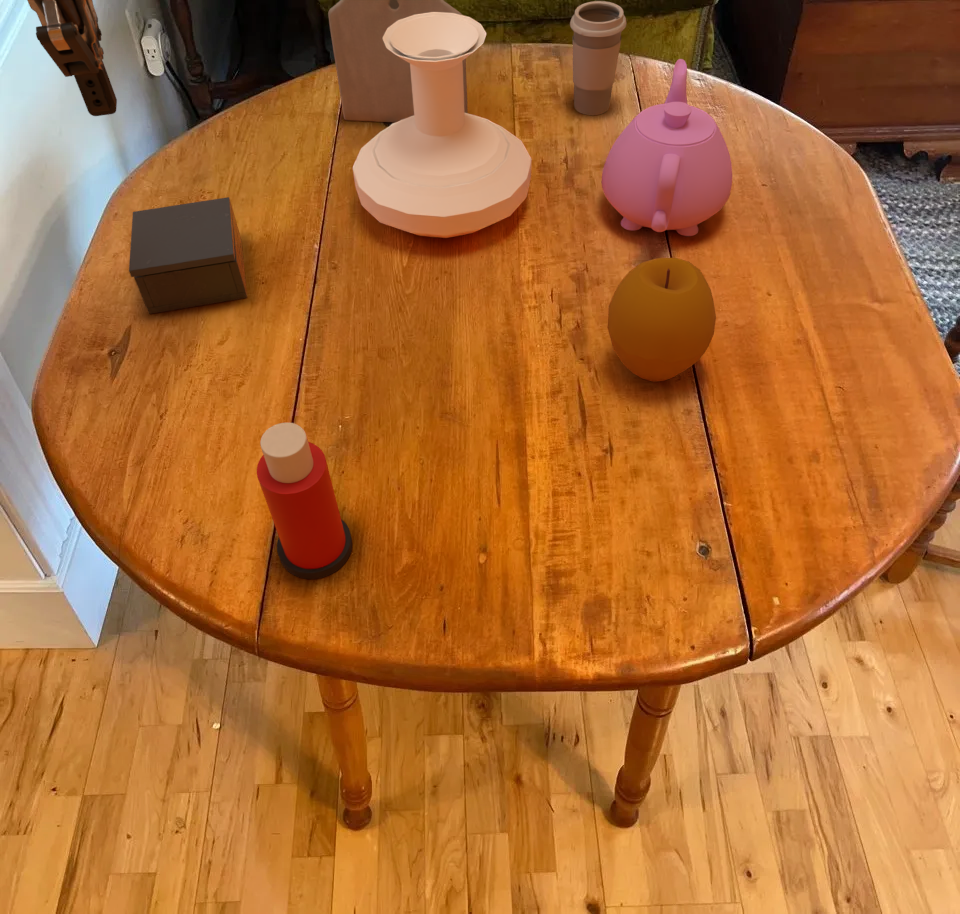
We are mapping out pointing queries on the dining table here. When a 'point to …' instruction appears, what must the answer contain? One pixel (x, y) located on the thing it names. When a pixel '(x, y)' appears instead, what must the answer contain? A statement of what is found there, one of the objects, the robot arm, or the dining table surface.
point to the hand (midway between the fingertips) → (104, 110)
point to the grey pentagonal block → (376, 58)
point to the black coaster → (323, 570)
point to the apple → (661, 318)
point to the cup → (595, 54)
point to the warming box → (196, 283)
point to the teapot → (669, 165)
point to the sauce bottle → (300, 497)
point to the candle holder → (440, 141)
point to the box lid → (181, 237)
